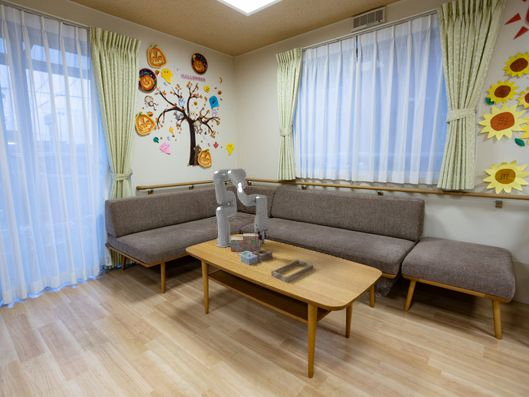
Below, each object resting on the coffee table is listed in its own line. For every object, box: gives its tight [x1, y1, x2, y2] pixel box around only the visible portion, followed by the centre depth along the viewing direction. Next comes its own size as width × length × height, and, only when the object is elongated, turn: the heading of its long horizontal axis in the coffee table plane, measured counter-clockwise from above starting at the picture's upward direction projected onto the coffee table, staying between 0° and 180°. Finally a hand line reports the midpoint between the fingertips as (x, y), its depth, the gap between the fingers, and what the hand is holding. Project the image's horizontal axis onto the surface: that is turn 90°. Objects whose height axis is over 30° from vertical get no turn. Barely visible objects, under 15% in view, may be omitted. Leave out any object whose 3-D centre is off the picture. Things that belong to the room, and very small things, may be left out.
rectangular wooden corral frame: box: [270, 259, 314, 283], centre depth 170 cm, size 12×25×3 cm, turn 135°
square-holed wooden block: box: [252, 248, 273, 262], centre depth 194 cm, size 10×10×4 cm
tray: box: [237, 251, 252, 258], centre depth 197 cm, size 8×8×2 cm
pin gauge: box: [260, 230, 266, 246], centre depth 191 cm, size 3×3×10 cm
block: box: [240, 253, 259, 266], centre depth 187 cm, size 8×8×4 cm
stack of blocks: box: [230, 232, 261, 253], centre depth 208 cm, size 21×6×12 cm, turn 88°
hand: (262, 239), depth 192 cm, fingers closed on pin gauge, 3 cm apart
